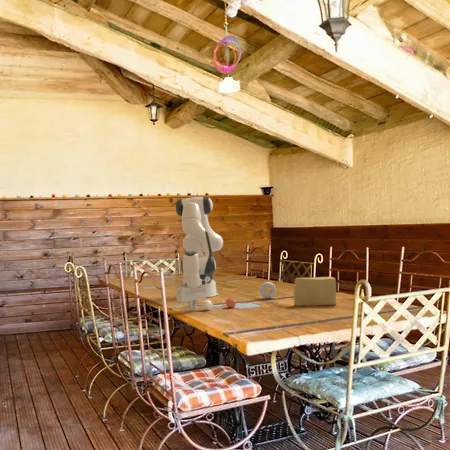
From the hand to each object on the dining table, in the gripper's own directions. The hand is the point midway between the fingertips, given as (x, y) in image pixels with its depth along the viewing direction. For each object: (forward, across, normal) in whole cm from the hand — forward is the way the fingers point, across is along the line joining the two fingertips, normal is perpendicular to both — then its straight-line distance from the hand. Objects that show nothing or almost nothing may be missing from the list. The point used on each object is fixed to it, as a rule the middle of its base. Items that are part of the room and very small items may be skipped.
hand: (192, 308), depth 269 cm
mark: (+2, +27, -14) cm, 31 cm away
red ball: (-1, +20, -10) cm, 22 cm away
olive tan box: (+2, +50, -44) cm, 67 cm away
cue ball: (-1, +7, -4) cm, 8 cm away
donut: (+2, +56, -10) cm, 57 cm away
